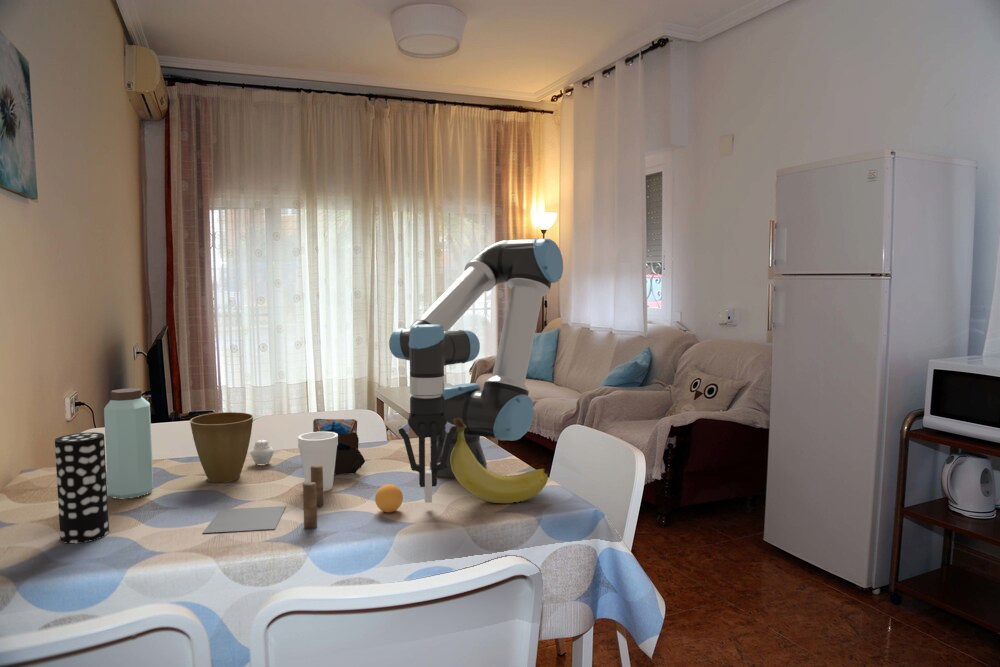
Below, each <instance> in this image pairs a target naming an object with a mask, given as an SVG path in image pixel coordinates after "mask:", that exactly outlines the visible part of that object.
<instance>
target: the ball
mask: <svg viewBox="0 0 1000 667" xmlns="http://www.w3.org/2000/svg"><path fill="white" fill-rule="evenodd" d="M403 499H404V495H403V492H402V490H401V489H400V487H398V486H397V485H395V484H390V483H387V484H385V485H382V486H381V487H379V488H378V489H377V491H376V493H375V496H374V500H375V505H376V507H377V508H378V509H379V510H380V511H381V512H385V513H393V512H396V511H397V510H398V509H400V507H401V505H402V503H403V501H404V500H403Z"/></svg>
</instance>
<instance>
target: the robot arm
mask: <svg viewBox="0 0 1000 667" xmlns="http://www.w3.org/2000/svg"><path fill="white" fill-rule="evenodd" d="M562 255H563V254H562V252H561V249H560V247H559V245H558V244H557V243H556V242H555V241H554V240H552V239H550V238H541V237H535V238H526V239H525V238H523V239H521V238H519V239H503V240H500V241H497V242H494V243H492V244H490V245H489V246H487V247H486V248H484V249H482V250H480V252H478V253H477V254H475V256H474V257H472V258H471V259H470V260H469V261H468V263H466V264H465V266H464V271H463V273H461V274H460V276H459V277H458V278H457V279H456V280H454V281H453V282H452V284H450V286H449V287H447V289H446V290H445V291H444V292H443V293H441V295H440V296H439V297H437V299H436V300H435V301H434V302H433V303H432V304H431V305H430V306H429V307H428V308H427V309H426V310H425V311H424V312H423V313H422V314H421V315H420V316H419V317H418V318H417V319H415V321H414V322H413V323H412V324H411V325H410V326H409V327H408V328H407V327H402V328H397V329H395V330H394V331H393V332H391V335H390V337H389V342H388V345H389V346H388V347H389V351H390V352H391V354H392V355H393V356H394V357H395V358H397V359H401V360H404V361H405V360H406V361H409V394H410V395H411V396H410V397H409V417H408V419H407V423H405V424H404V425H401V426H399V427H398V433H399V435H400V437H401V438H402V439H403V442H404V445H405V450H406V453H407V458H408V461H409V465H410V469H411V471H413V472H418V475H419V476H418V480H419V481H418V484H419V487H420V488H424V493H423V494H424V503H426V504H427V503H433V487H436V486H437V484H438V478H444V479H456V477H455V476H454V474H453V472H452V469H451V464H450V457H451V452H452V450H453V448H454V446H455V444H456V442H457V438H458V432H457V428H456V426H455V424H454V418H461V419H462V422H463V424H465V425H466V428H465V429H464V438H465V441H466V444H467V445H468V447H469V448H470V450H471V452H472V453H473V455H474V456H475V458H476V459H477V461H478V462H479V463H480V464H481V465H482V466H483V467H484V468H485V469H487V470H488V468H487V467H488V466H487V459H486V457H485V454H484V453H485V452H484V450H483V447H482V445H481V437H483V438H491V439H495V440H496V439H497V440H498V441H518V440H520V439H522V437H523V436H525V435H526V434H527V433H528V432H529V430H530V428H531V426H532V423H533V420H534V415H535V409H534V401H533V400H532V399H531V397H529V393H530V390H529V388H528V387H527V386H526V379H527V373H528V368H529V364H530V359H531V355H532V354H531V353H532V350H533V345H534V344H533V343H534V340H535V335H536V329H537V325H538V320H539V315H540V312H541V306H542V302H543V298H544V296H547V295H548V294H549V293H550V292H551V286H552V284H555V283H557V282H559V281H560V280H561V278H562V277H563V272H564V261H563V256H562ZM503 283H506V285H507V286H508V288H509V289H510V290H509V291H510V294H509V298H508V302H507V307H506V312H505V316H504V320H503V325H502V329H501V334H500V338H499V341H498V342H499V343H498V348H497V351H496V352H497V353H496V357H495V360H494V365H493V369H492V370H493V371H492V374H491V377H490V378H488V379H487V380H485V381H484V382H483V383H484V384H483V387H482V390H481V387H480V384H479V383H476V382H475V383H474V382H472V383H460V384H452V385H446V386H445V366H449V365H457V364H466V363H469V362H471V361H474V360H475V359H476V358H477V357H478V355H479V352H480V350H481V343H480V340H479V337H478V336H477V334H476V333H474V332H473V331H472V330H467V329H466V330H464V329H459V330H450V329H451V328H452V327H453V326H454V325H455V324H456V323H457V322H459V320H460V319H461V318H462V317H463V315H464V314H465V313H466V312H467V311H468V310H469V309H470V308H471V307H472V305H473V304H474V303H475V302H476V301H477V300H478V299H479V298H480V297H481V296H482V295H483V294H484V293H485V292H488V291H491V290H493V288H494V287H495V286H496V285H497V286H498V285H499V284H503ZM410 429H411V430H412V431H413V433H414V434H415V435H416V436H417V437H418V463H417V462H416V459H415V455H414V452H413V446H412V444H411V440H410V439H411V438H410V436H409V435H410V433H411V432H410ZM426 438H429V439H430V442H429V443H430V461H429V469H426Z"/></svg>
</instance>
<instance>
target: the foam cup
mask: <svg viewBox="0 0 1000 667" xmlns="http://www.w3.org/2000/svg"><path fill="white" fill-rule="evenodd" d="M297 438H298V440H297V441H298V444H297V445H298V448H299V454H300V460H301V466H302V467H301V468H302V472H303V473H302V474H303V478H304V479H303V480H304V483H307V482H311V466H314V465H322V466H323V492H327V491H329V490H332V489H334V488H333V485H334V480H335V479H334V478H335V474H334V470H335V461H336V451H337V445H338V434H337V433H334V432H313V431H310V432H307V433H305V432H304V433H302V434H300V435H298V437H297Z"/></svg>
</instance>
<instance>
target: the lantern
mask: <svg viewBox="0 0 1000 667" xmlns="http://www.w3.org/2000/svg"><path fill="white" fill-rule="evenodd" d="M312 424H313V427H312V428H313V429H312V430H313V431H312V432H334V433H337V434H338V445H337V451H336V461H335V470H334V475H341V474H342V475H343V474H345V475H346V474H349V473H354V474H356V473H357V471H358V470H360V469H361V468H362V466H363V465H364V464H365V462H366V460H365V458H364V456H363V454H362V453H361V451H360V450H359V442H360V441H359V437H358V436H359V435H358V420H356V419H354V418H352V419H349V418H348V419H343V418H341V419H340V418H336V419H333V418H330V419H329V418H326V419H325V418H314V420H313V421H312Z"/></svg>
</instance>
